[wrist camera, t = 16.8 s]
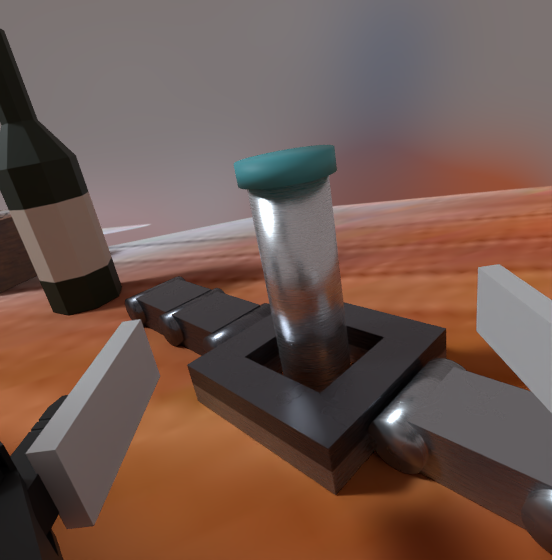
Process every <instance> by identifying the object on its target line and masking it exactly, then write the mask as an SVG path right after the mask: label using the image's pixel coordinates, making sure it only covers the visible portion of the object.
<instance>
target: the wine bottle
mask: <svg viewBox="0 0 552 560" xmlns="http://www.w3.org/2000/svg"><path fill="white" fill-rule="evenodd" d="M0 122H1V125H2V126H1V131H0V191H1V193H2V195H3V198H4V200H5V202H6V205H7V207H8V209H9V211H10V214H11V216H12V218H13V221H14V223H15V225H16V228H17V230H18V232H19V234H20V237H21V239H22V241H23V244H24V246H25V248H26V250H27V253H28V255H29V257H30V260H31V262H32V264H33V266H34V269H35V271H36V273H37V276H38V278H39V280H40V282H41V285H42V287H43V289H44V292H45V294H46V296H47V299H48V301H49V303H50V305H51V308H52V310H53V312H55V313H60V314H65V315H72V314H76V313H80V312H84V311H88V310H92V309H96V308H98V307H100V306H102V305H104V304H106V303H107V302H109V301H111V300H113V299H115V298H116V297H118V296H119V294H120V291H121V288H122V286H121V283H120V280H119V277H118V274H117V272H116V269H115V266H114V263H113V260H112V257H111V254H110V252H109V249H108V246H107V243H106V240H105V237H104V235H103V232H102V229H101V226H100V223H99V220H98V218H97V215H96V212H95V209H94V207H93V203H92V201H91V198H90V195H89V192H88V189H87V186H86V184H85V181H84V178H83V175H82V172H81V169H80V167H79V163H78V161H77V158H76V155H75V154H74V153H72V152H71V151H70V150H69V149H68V148H67V147H66V146H65V145H64V144H63V143H62V142H61V141H60V140H59V139H58V138H56V137H55V136H54V135H53V134H52V133H51V132H50V131H49V130H48V129H47V128H46V127H45V126H44V125H42V124H41V123H40V122H39V121H38V120H37V117H36V114H35V112H34V109H33V106H32V104H31V101H30V98H29V96H28V93H27V90H26V88H25V85H24V83H23V80H22V77H21V74H20V72H19V69H18V66H17V64H16V61H15V58H14V56H13V53H12V51H11V48H10V45H9V42H8V40H7V37H6V34H5V32H4V30H2V29H0Z"/></svg>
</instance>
